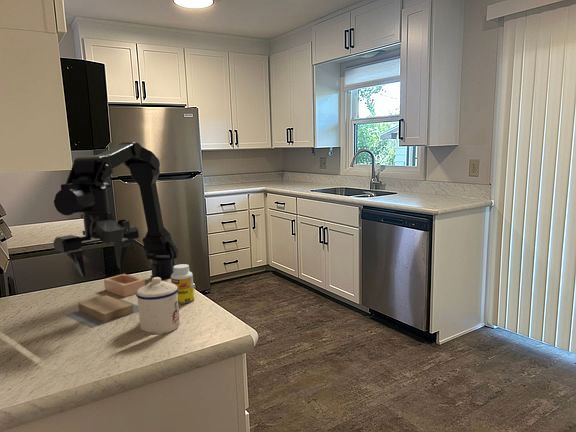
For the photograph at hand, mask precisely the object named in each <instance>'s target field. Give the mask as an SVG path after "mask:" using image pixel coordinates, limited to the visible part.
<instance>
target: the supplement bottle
mask: <svg viewBox="0 0 576 432" xmlns="http://www.w3.org/2000/svg"><path fill="white" fill-rule="evenodd" d="M173 271H174V273H173V274H172V275H171V278H170V283H172V284H175V285H176V286H177V287H178V292H177V293H178V306H179V305H187V304H191V303H193V302H194V301H195V289H194V287H195V286H194V275H193V272H192V271H190V265H189V264H186V263H185V264H184V263H183V264H181V263H180V264H175V266H174V267H173Z"/></svg>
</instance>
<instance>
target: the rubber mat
mask: <svg viewBox="0 0 576 432" xmlns="http://www.w3.org/2000/svg"><path fill="white" fill-rule="evenodd" d="M116 299H118V300H121V301H124V302H126V303H129V304H132V305H133V312H134V313H131V314H128V315H125V316H122V317H119V318H117V319H114V320H111V321H108V322H103V321H101V320H99V319H97V318H95V317H92V316H90V315H88V314H86V313H83V312H81V311H79V309H78V310H75V311H71V312H69V313H64V315H65V316H66V317H68V318H70V319H72V320H74V321H76V322H79V323H80V324H82V325H84V326H87V327H89V328H91V329H93V328H95V327H99V326H102V325H104V324H108V323H111V322H113V321H116V320H119V319H122V318H125V317H129V316H131V315H134V314H137V313H139V308H138V304H134V303H131V302H129V301H126V300H124V299H121V298H116Z"/></svg>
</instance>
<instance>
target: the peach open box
mask: <svg viewBox="0 0 576 432" xmlns="http://www.w3.org/2000/svg"><path fill="white" fill-rule="evenodd" d="M103 284H104V285H103V286H104V290H105V291H107V292H110V293H113V294H115V295H118V296H121V297H124V298H126V297H129V296H133V295H136V293H137V291H138V289H140V288H141V287H143V286H146V280H145V278H140V277H136V276H133V275H131V274H127V273H123V274H117V275H114V276H110V277H107V278H103Z"/></svg>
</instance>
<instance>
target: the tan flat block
mask: <svg viewBox="0 0 576 432" xmlns="http://www.w3.org/2000/svg"><path fill="white" fill-rule="evenodd" d="M118 299H119V298H118ZM118 299H117V298H116V297H115V298H114V297H112V296H110V295H107V294H106V295H102V296H98V297H95V298H91V299H89V300H84V301H82V302H78V310H79V311H81V312H83V313H86V314H88V315H90V316H92V317H95V318H97V319H99V320H101V321H103V322H108V321H111V320H114V319H117V318H119V317H122V316H125V315H128V314H131V313H134V312H133V305H132V304H133V303H132V304H129V303H130V302H129V303H126V302H124V301H125V300H124V301H121V300H122V299H121V300H118ZM134 314H135V313H134ZM131 315H132V314H131ZM128 316H129V315H128ZM125 317H126V316H125ZM122 318H123V317H122ZM117 320H118V319H117ZM114 321H115V320H114ZM111 322H112V321H111ZM108 323H109V322H108Z"/></svg>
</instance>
